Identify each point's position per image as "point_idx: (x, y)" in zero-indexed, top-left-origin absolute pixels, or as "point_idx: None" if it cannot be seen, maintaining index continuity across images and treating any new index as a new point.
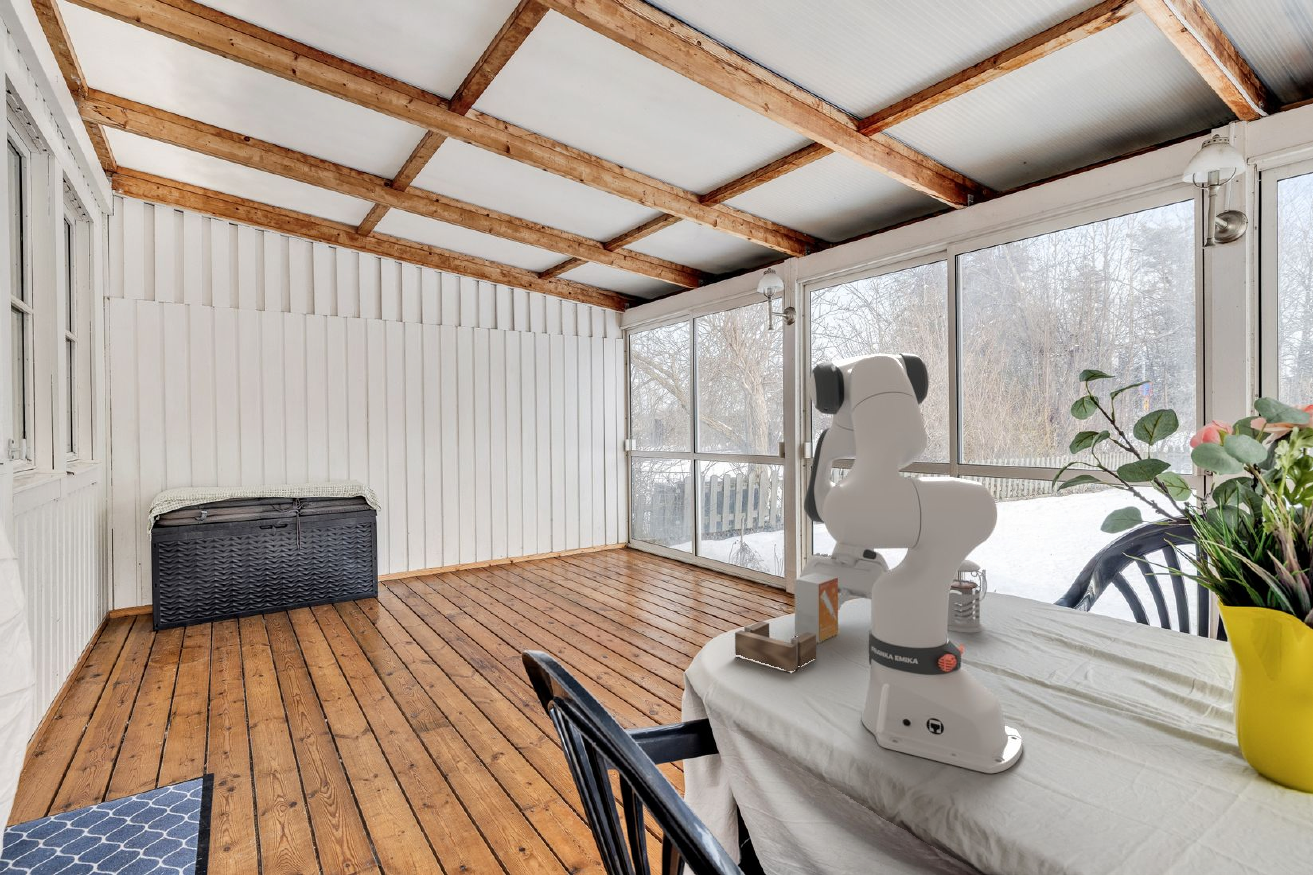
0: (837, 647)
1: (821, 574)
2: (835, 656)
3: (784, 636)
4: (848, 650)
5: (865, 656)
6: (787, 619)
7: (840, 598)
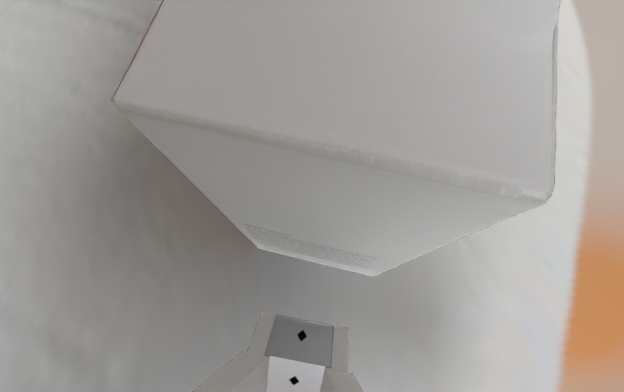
0: None
1: (390, 130)
2: None
3: None
4: None
5: None
6: (540, 346)
7: (235, 362)
